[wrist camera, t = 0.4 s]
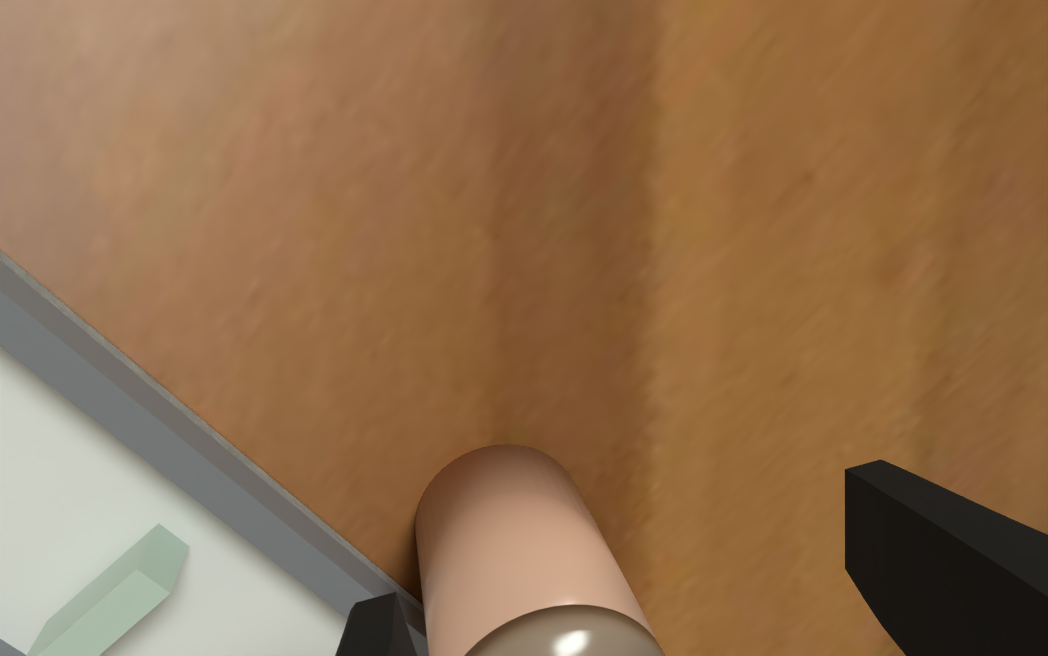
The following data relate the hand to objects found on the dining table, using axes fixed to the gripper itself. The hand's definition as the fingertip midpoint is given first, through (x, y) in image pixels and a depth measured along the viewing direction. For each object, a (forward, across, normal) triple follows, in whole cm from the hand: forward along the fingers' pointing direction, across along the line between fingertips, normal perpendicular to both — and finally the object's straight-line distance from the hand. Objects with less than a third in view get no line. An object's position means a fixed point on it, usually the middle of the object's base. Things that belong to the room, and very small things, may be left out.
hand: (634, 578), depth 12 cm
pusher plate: (+9, +12, +4) cm, 15 cm away
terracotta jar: (+10, +2, +6) cm, 11 cm away
